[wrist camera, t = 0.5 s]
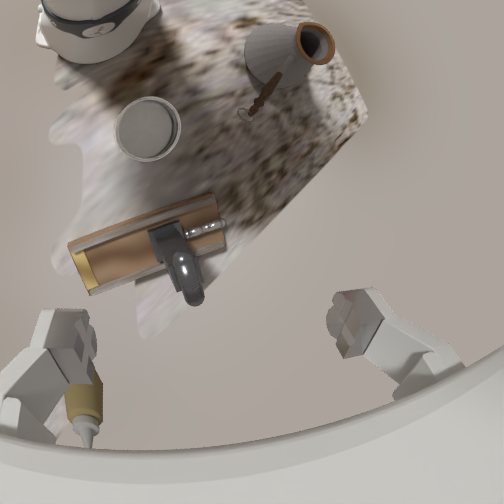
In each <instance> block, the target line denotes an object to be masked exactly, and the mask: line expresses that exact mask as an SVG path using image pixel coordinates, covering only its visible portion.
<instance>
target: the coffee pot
mask: <svg viewBox="0 0 504 504" xmlns="http://www.w3.org/2000/svg"><path fill="white" fill-rule="evenodd" d="M334 54H335V42H334V40H333V37H332V35H331V34H330V32H329V31H328V30H327V29H326V28H325V27H323V26H322V25H320V24H318V23H313V22H304V23H300V24H299V26H298V28H296V27H292V26H287V25H281V24H266V25H261V26H260V27H258V28H256V29H254V30H253V31H252V33H251V34H250V35H249V36H248V38H247V40H246V43H245V48H244V57H245V62H246V64H247V67H248V69H249V70H250V72H251V73H252V74H253V76H255V77H256V78H257V79H258V80H259V81H261V82H262V83H264V84H266V85H265V86H264V87H263V88H262V91H261V93H260V95H259V97H258V98H255V99H254V105H253V106H251V108H250V110H247V109H245V108H239V109H238V110H240V109H243V110H245V111H247V112H249V113H248V115H249V116H250V117H253V121H252V122H249V121H246V120H244V119H243V118H242V117H241V116H240V115H239V112H238V110H237V114H238V116H239V117H240V119H242V120H243V121H244V122H247V123H253V122H254V120H255V119H254V116H253V115H255V114H256V113H257V112H258V108H259V107H262V106H264V101H265V100H266V99H267V98H268V97H269V96H270V95H271V94H272V93H273V91H274V89H275V88H287V87H290V86H292V85H295V84H296V83H297V82H299V81H300V80H301V79H302V78H303V77H304V76H305V74H306V73H307V72H308V71H309V70H310V68H311V67H312V66H313V65H314V64H316V65H324V64H327V63H328V62H330V61H331V59H332V58H333V56H334Z"/></svg>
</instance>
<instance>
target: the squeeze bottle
mask: <svg viewBox="0 0 504 504" xmlns="http://www.w3.org/2000/svg"><path fill="white" fill-rule="evenodd" d="M69 385H70V386H69V387H68V388H67V390H66V391H65V393H64V396H65V404H66V411H67V417H68V420H69V421H70V422H71V423H72V424H73V430H74V431H75V433H76V434H79V435H80V436H81V438H82V441H83V444H84V447H85V448H92V442H93V436H95V435H97V434H98V433H99V425H100V424H101V423H102V422H103V383H102V382H101V380H100V378H99V376H98V374H97V372H96V370H95V369H94V378H93V384H69Z"/></svg>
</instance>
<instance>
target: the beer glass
mask: <svg viewBox="0 0 504 504" xmlns="http://www.w3.org/2000/svg"><path fill="white" fill-rule="evenodd" d="M180 134H181V120H180V117H179V114H178V112H177V110H176V109H175V108H174V106H173V105H172V104H171V103H169V102H168V101H166V100H164V99H162V98H159V97H153V96H148V97H142V98H139V99H136V100H134V101H133V102H131V103H129V104H128V105H126V106H125V107H124V108H123V109H122V110H121V112H120V113H119V114H118V116H117V118H116V120H115V123H114V128H113V136H114V141H115V143H116V145H117V147H118V149H119V150H120V151H121V152H122V153H123V154H124V155H125V156H127V157H128V158H130V159H133V160H136V161H141V162H151V161H156V160H158V159H161V158H163V157H164V156H166V155H167V154H169V153H170V152H171V151H172V150H173V148H174V147H175V146H176V144H177V142H178V140H179V137H180Z"/></svg>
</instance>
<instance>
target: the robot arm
mask: <svg viewBox="0 0 504 504" xmlns="http://www.w3.org/2000/svg"><path fill="white" fill-rule="evenodd" d="M41 2H42V4H40V5H39V6H38V13H40V16H39V21H38V27H37V33H36V43H37V45H38V46H40V47H43V48H47V49H52V50H54V51H55V52H57V53H58V54H59V55H60V56H61V57H63V58H64V59H66V60H68V61H71V62H74V63H80V64H92V63H98V62H102V61H105V60H108V59H110V58H112V57H114V56H116V55H118V54H120V53H121V52H123V51H124V50H125V49H126V48H128V47H129V46H130V45H131V44H132V43H133V42H134V40H135V39H136V38H137V37H138V35H139V33H140V32H141V30H142V28H143V26H144V25H145V23H146V22H147V21H149V20H150V19H151V18H153V17H154V16H155V15H156V14H157V13H158V12H159V10H160V3H159V1H158V0H41ZM332 301H333V303H334V305H333V306H332V307H331V308H330V309H329V311H328V314H327V317H326V321H327V328H328V331H329V333H330V335H331V336H333V337H334V338H336V339H337V342H336V346H337V348H338V350H339V352H340V353H341V355H342V357H343V359H345V358H350V357H354V356H359V355H363V356H364V357H365V358H367V359H368V360H369V361H370V362H372V363H373V364H374V365H375V366H377V367H378V368H380V369H381V370H382V371H383V372H384V373H386V374H387V375H388V376H390V377H391V378H392V379H394V380H395V381H396V382H397V383H399V384H400V385H399V386H398V387H397V389H396V390H395V391H394V392H393V395H392V396H393V398H394V400H395V401H394V402H391V403H389V404H386V405H383V406H381V407H378V408H376V409H373V410H370V411H367V412H364V413H361V414H358V415H355V416H352V417H349V418H346V419H343V420H339V421H336V422H333V423H329V424H326V425H322V426H318V427H315V428H311V429H307V430H303V431H299V432H294V433H290V434H286V435H281V436H276V437H271V438H266V439H261V440H255V441H249V442H242V443H236V444H229V445H221V446H212V447H203V448H191V449H175V450H135V451H134V450H107V449H92V448H81V447H71V446H63V445H56V444H55V441H56V437H55V436H54V435H53V434H52V433H51V432H50V431H49V430H48V429H47V428H46V427H45V426H44V425H43V424H44V423H45V421H46V420H47V418H48V417H49V415H50V414H51V412H52V411H53V409H54V408H55V406H56V405H57V403H58V402H59V400H60V399H61V397H62V396H63V394H64V393H65V391H66V390H67V388H68V387H69V386H70V385H69V384H93V378H94V369H95V367H94V365H93V362H92V360H93V359H94V357H95V356H96V352H97V339H96V334H95V331H94V328H93V327H92V326H91V325H89V319H90V317H89V315H88V312H87V310H85V309H58V308H57V309H50V308H49V309H48V308H44V309H43V310H42V311H41V313H40V316H39V319H38V322H37V325H36V328H35V331H34V334H33V337H32V340H31V343H30V347H25V348H24V350H22V351H21V352H20V353H19V354H18V355H17V356H16V357H15V358H14V359H13V360H12V361H11V362H10V363H9V364H8V365H7V366H6V367H5V368H4V369H3V370H2V371H1V372H0V504H504V345H503V346H501V347H500V348H498V349H497V350H495V351H493V352H492V353H490V354H488V355H487V356H485V357H483V358H482V359H480V360H478V361H477V362H475V363H473V364H471V365H470V366H468V367H465V366H464V364H463V363H462V362H461V360H460V359H459V357H458V356H457V355H456V353H455V352H454V351H453V349H452V348H451V346H450V345H449V344H448V343H447V342H445V341H443V340H441V339H440V338H438V337H436V336H434V335H433V334H431V333H429V332H427V331H426V330H424V329H422V328H420V327H418V326H417V325H415V324H413V323H411V322H410V321H408V320H406V319H404V318H402V317H401V316H399V317H397V316H396V315H395V313H394V312H393V311H392V309H391V308H390V307H389V305H388V304H387V303H386V301H385V300H384V299H383V297H382V296H381V295H380V293H379V292H378V291H377V289H375V288H373V287H370V288H363V289H356V290H349V291H341V292H337V293H336V294H335V295H334V297H333V300H332Z"/></svg>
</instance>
